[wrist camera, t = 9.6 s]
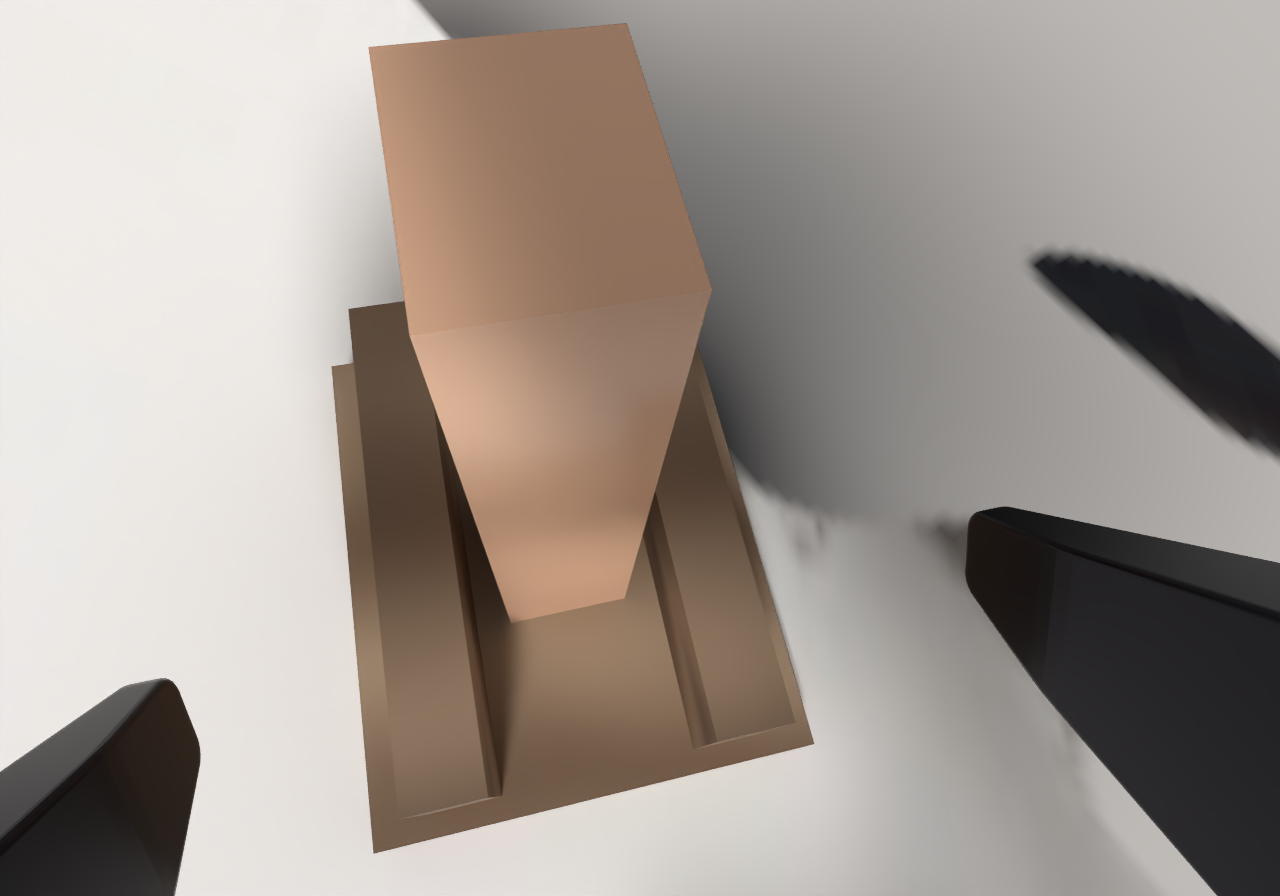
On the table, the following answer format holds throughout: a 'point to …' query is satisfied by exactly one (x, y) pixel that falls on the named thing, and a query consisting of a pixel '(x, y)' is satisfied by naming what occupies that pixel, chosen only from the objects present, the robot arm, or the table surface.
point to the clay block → (543, 292)
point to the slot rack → (542, 624)
